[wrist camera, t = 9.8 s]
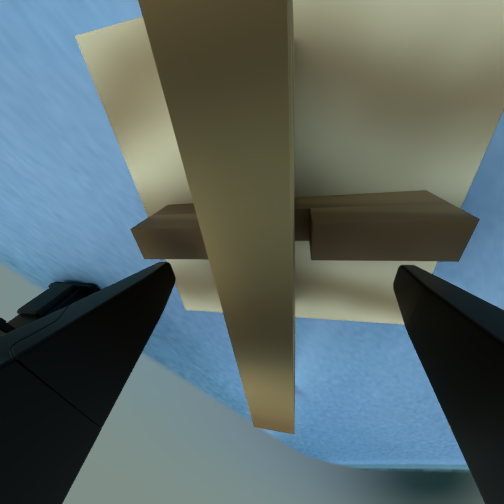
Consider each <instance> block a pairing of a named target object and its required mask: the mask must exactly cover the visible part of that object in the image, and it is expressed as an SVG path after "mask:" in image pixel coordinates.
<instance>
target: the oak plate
mask: <svg viewBox="0 0 504 504" xmlns="http://www.w3.org/2000/svg"><path fill="white" fill-rule="evenodd" d="M138 1H139V5H140V8H141V12H142V16H143V19H144V23H145V27H146V30H147V34H148V38H149V42H150V45H151V49H152V53H153V56H154V60H155V64H156V67H157V71H158V75H159V78H160V82H161V86H162V89H163V93H164V97H165V100H166V104H167V108H168V112H169V115H170V119H171V123H172V126H173V130H174V134H175V137H176V141H177V145H178V148H179V152H180V156H181V159H182V163H183V167H184V171H185V174H186V178H187V182H188V185H189V189H190V193H191V196H192V200H193V204H194V207H195V211H196V215H197V218H198V222H199V226H200V229H201V233H202V237H203V241H204V244H205V248H206V252H207V255H208V259H209V263H210V266H211V270H212V274H213V277H214V281H215V285H216V288H217V292H218V296H219V299H220V303H221V307H222V311H223V314H224V318H225V322H226V325H227V329H228V333H229V336H230V340H231V344H232V347H233V351H234V355H235V358H236V362H237V366H238V369H239V373H240V377H241V381H242V384H243V388H244V392H245V395H246V399H247V403H248V406H249V410H250V414H251V417H252V421H253V425H254V427H257V428H263V429H268V430H274V431H279V432H284V433H290V434H294V409H295V218H294V191H295V131H294V23H293V0H138Z"/></svg>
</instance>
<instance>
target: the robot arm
mask: <svg viewBox="0 0 504 504" xmlns="http://www.w3.org/2000/svg"><path fill="white" fill-rule="evenodd" d="M175 281H176V277H175V274H174V271H173V269H172V266H171V264H170V263H169V262H158V263H156V264H154V265H152V266H150V267H148V268H146V269H144V270H142V271H140V272H138V273H135V274H133V275H131V276H129V277H127V278H125V279H123V280H121V281H119V282H117V283H114V284H112V285H110V286H108V287H106V288H104V289H102V290H100V291H99V289H98V288H97V287H96V286H95V285H93V284H73V283H51V284H50V285H49V289H47V290H46V291H44V292H43V293H41V294H40V295H39V296H37V297H36V298H34V299H33V300H31V301H30V302H28V303H27V304H25V305H24V306H22V307H21V308H20V309H18V311H17V313H18V314H19V315H18V316H16V317H15V318H14V319H12V320H10V321H9V322H8V323H6V321H5V320H4V319H2V318H0V504H62V503H63V501H64V499H65V497H66V496H67V494H68V492H69V490H70V488H71V486H72V484H73V482H74V480H75V479H76V477H77V475H78V473H79V471H80V469H81V467H82V465H83V463H84V461H85V460H86V458H87V456H88V454H89V452H90V450H91V448H92V446H93V444H94V442H95V441H96V438H97V437H98V435H99V433H100V431H101V429H102V428H101V427H102V426H103V425H104V423H105V421H106V419H107V417H108V416H109V414H110V412H111V410H112V408H113V406H114V404H115V402H116V400H117V398H118V397H119V395H120V393H121V391H122V389H123V387H124V385H125V383H126V381H127V379H128V378H129V376H130V374H131V372H132V370H133V368H134V366H135V364H136V362H137V361H138V359H139V357H140V355H141V353H142V351H143V349H144V347H145V345H146V343H147V342H148V340H149V338H150V336H151V334H152V332H153V330H154V328H155V326H156V324H157V323H158V321H159V319H160V317H161V315H162V313H163V311H164V308H165V306H166V304H167V301H168V299H169V296H170V294H171V291H172V289H173V286H174V284H175ZM393 289H394V293H395V296H396V299H397V302H398V306H399V309H400V312H401V315H402V318H403V322H404V324H405V327H406V330H407V332H408V335H409V337H410V339H411V341H412V343H413V346H414V348H415V350H416V352H417V355H418V357H419V359H420V361H421V363H422V366H423V368H424V370H425V372H426V374H427V377H428V379H429V381H430V383H431V385H432V388H433V390H434V392H435V394H436V396H437V399H438V401H439V403H440V405H441V408H442V410H443V412H444V414H445V416H446V419H447V421H448V423H449V425H450V427H451V430H452V432H453V434H454V436H455V438H456V441H457V443H458V445H459V447H460V449H461V452H462V454H463V456H464V458H465V461H466V463H467V465H468V467H469V469H470V472H471V474H472V476H473V478H474V480H475V483H476V485H477V487H478V489H479V491H480V494H481V496H482V498H483V500H484V502H485V504H504V310H502V309H500V308H498V307H496V306H494V305H492V304H490V303H488V302H486V301H484V300H482V299H480V298H478V297H476V296H474V295H472V294H471V293H469V292H467V291H465V290H463V289H461V288H459V287H457V286H455V285H453V284H451V283H449V282H447V281H445V280H443V279H441V278H439V277H437V276H435V275H433V274H431V273H429V272H427V271H425V270H423V269H421V268H419V267H417V266H415V265H400V266H399V267H398V270H397V273H396V276H395V279H394V282H393Z"/></svg>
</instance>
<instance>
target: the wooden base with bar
mask: <svg viewBox="0 0 504 504" xmlns="http://www.w3.org/2000/svg"><path fill="white" fill-rule="evenodd" d="M293 23H294V131H295V191H294V218H295V317H300V318H315V319H330V320H346V321H361V322H376V323H391V324H404V322H403V318H402V315H401V312H400V309H399V306H398V302H397V299H396V296H395V293H394V289H393V282H394V279H395V276H396V273H397V270H398V267H399V266H400V265H415V266H417V267H419V268H421V269H423V270H425V271H427V272H429V273H431V274H432V273H433V271H434V269H435V266H436V264H437V262H438V261H459V260H460V258H461V256H462V254H463V252H464V250H465V248H466V246H467V244H468V242H469V240H470V238H471V236H472V234H473V232H474V230H475V228H476V226H477V224H478V222H479V220H480V219H478V218H476V217H475V216H473V215H471V214H469V213H467V212H465V211H464V210H462V209H461V207H462V204H463V202H464V200H465V198H466V195H467V193H468V191H469V188H470V186H471V184H472V181H473V179H474V177H475V175H476V172H477V170H478V168H479V165H480V163H481V161H482V159H483V156H484V154H485V152H486V149H487V147H488V145H489V142H490V140H491V138H492V136H493V133H494V131H495V129H496V126H497V124H498V122H499V119H500V117H501V115H502V113H503V110H504V0H293ZM75 38H76V40H77V42H78V45H79V47H80V50H81V52H82V55H83V57H84V60H85V62H86V65H87V67H88V70H89V72H90V75H91V77H92V79H93V82H94V84H95V87H96V89H97V92H98V94H99V97H100V99H101V102H102V104H103V107H104V109H105V112H106V114H107V116H108V119H109V121H110V124H111V126H112V129H113V131H114V134H115V136H116V139H117V141H118V144H119V146H120V149H121V151H122V153H123V156H124V158H125V161H126V163H127V166H128V168H129V171H130V173H131V176H132V178H133V181H134V183H135V186H136V188H137V191H138V193H139V195H140V198H141V200H142V203H143V205H144V208H145V210H146V213H147V215H148V218H147V219H145V220H144V221H142V222H141V223H139V224H138V225H136V226H135V227H133V228H132V229H131V231H132V234H133V236H134V238H135V240H136V242H137V244H138V246H139V249H140V251H141V253H142V255H143V257H144V259H165V260H166V262H169V263H170V264H171V266H172V269H173V271H174V274H175V277H176V281H175V284H176V287H177V289H178V292H179V294H180V297H181V299H182V302H183V304H184V306H185V309H186V310H194V311H209V312H223V311H222V307H221V303H220V299H219V296H218V292H217V288H216V285H215V281H214V277H213V274H212V270H211V266H210V263H209V259H208V255H207V252H206V248H205V244H204V241H203V237H202V233H201V229H200V226H199V222H198V218H197V215H196V211H195V207H194V204H193V200H192V196H191V193H190V189H189V185H188V182H187V178H186V174H185V171H184V167H183V163H182V159H181V156H180V152H179V148H178V145H177V141H176V137H175V134H174V130H173V126H172V123H171V119H170V115H169V112H168V108H167V104H166V100H165V97H164V93H163V89H162V86H161V82H160V78H159V75H158V71H157V67H156V64H155V60H154V56H153V53H152V49H151V45H150V42H149V38H148V34H147V30H146V27H145V23H144V19H143V17H140V18H136V19H133V20H129V21H126V22H122V23H119V24H115V25H112V26H108V27H105V28H101V29H98V30H94V31H91V32H87V33H84V34H80V35H77V36H75Z"/></svg>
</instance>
